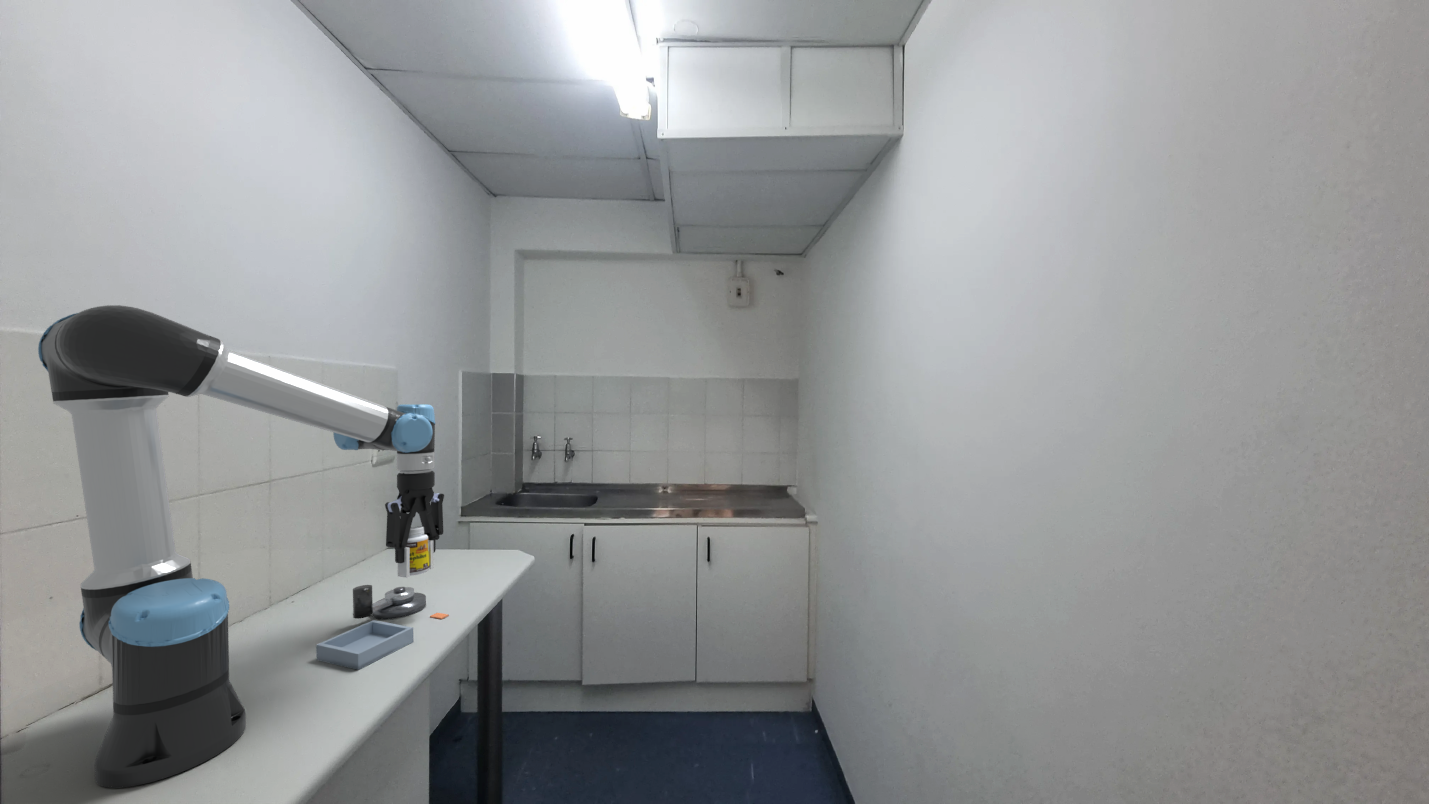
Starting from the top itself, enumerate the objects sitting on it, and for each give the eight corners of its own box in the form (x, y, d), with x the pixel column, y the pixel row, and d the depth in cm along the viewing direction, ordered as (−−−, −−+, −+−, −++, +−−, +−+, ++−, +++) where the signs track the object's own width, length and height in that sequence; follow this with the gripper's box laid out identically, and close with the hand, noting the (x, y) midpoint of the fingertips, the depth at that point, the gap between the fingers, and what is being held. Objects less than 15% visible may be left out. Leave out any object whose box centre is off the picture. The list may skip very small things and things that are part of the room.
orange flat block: (441, 619, 118) (441, 618, 118) (430, 617, 119) (429, 616, 119) (448, 615, 120) (448, 614, 120) (437, 613, 121) (437, 612, 121)
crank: (401, 594, 128) (401, 569, 128) (419, 596, 126) (419, 571, 126) (345, 616, 115) (345, 589, 115) (364, 620, 113) (364, 592, 113)
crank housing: (395, 622, 117) (395, 613, 117) (361, 615, 121) (361, 607, 121) (436, 603, 127) (436, 595, 127) (403, 598, 131) (403, 590, 131)
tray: (358, 670, 96) (358, 654, 96) (316, 659, 100) (316, 644, 100) (413, 641, 107) (413, 627, 107) (373, 633, 111) (373, 620, 111)
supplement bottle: (403, 578, 114) (400, 531, 115) (400, 573, 119) (398, 528, 119) (431, 572, 118) (429, 527, 118) (428, 567, 122) (426, 524, 122)
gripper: (390, 477, 108) (390, 587, 108) (461, 467, 126) (461, 562, 126) (364, 475, 111) (364, 583, 111) (437, 465, 128) (437, 558, 128)
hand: (416, 571), depth 118 cm, fingers closed on supplement bottle, 6 cm apart
